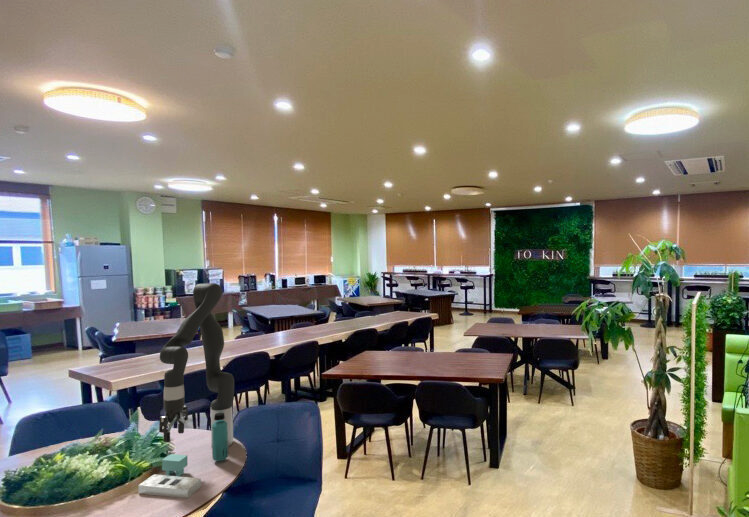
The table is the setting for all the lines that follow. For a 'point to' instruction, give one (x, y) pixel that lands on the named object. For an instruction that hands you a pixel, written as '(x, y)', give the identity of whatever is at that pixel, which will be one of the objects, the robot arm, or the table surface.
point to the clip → (174, 464)
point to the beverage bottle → (219, 438)
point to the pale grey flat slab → (169, 486)
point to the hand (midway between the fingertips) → (174, 437)
